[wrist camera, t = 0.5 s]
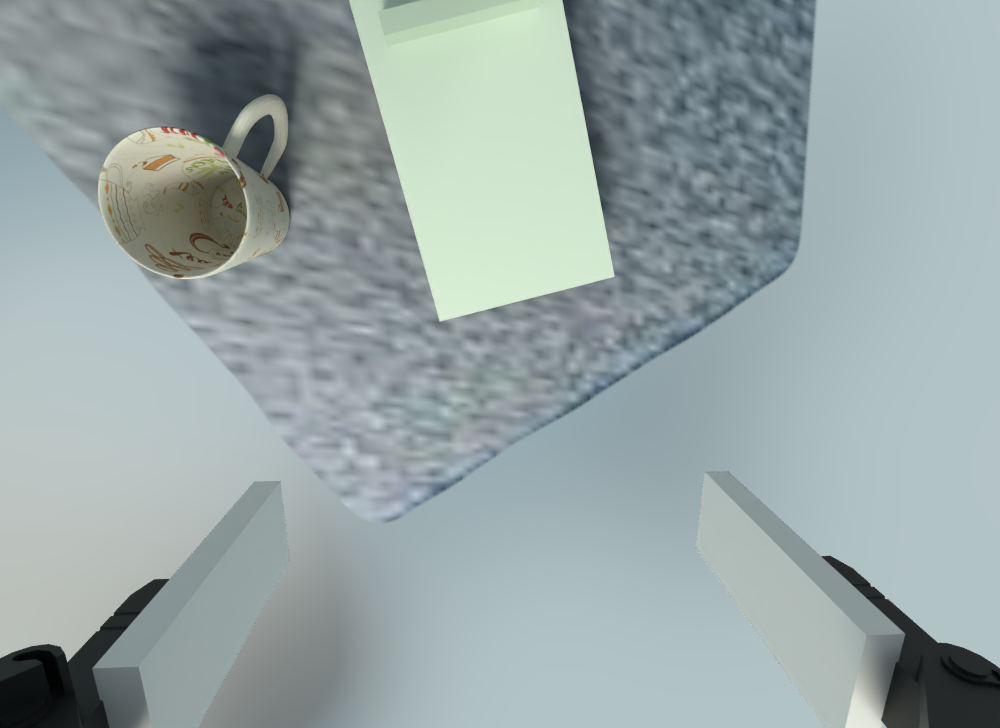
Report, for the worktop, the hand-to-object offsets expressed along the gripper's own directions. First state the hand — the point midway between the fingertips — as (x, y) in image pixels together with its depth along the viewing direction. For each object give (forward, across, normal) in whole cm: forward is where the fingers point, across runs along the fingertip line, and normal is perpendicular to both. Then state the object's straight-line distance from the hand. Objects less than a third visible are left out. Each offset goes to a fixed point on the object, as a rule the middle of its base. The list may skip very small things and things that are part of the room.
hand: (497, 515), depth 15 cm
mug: (+27, -16, +12) cm, 34 cm away
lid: (+20, 0, +14) cm, 25 cm away
